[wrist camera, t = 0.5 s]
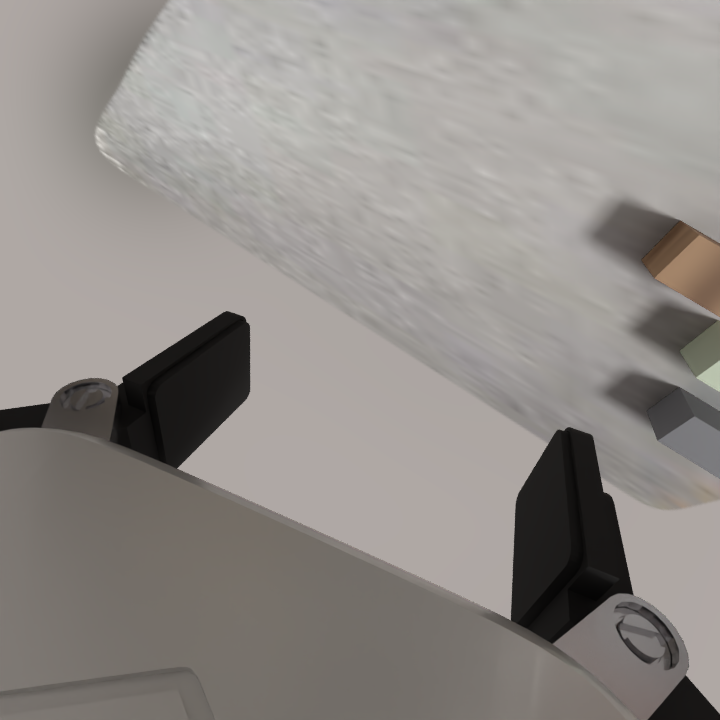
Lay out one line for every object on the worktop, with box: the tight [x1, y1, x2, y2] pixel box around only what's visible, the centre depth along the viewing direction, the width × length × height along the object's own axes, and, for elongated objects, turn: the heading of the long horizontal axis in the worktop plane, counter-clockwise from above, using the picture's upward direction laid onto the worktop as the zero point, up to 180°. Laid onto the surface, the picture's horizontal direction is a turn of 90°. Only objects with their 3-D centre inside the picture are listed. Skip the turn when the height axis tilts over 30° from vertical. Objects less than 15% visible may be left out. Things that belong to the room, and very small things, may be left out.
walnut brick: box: [642, 221, 720, 317], centre depth 33 cm, size 7×4×5 cm, turn 64°
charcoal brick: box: [647, 387, 720, 479], centre depth 40 cm, size 7×4×5 cm, turn 64°
